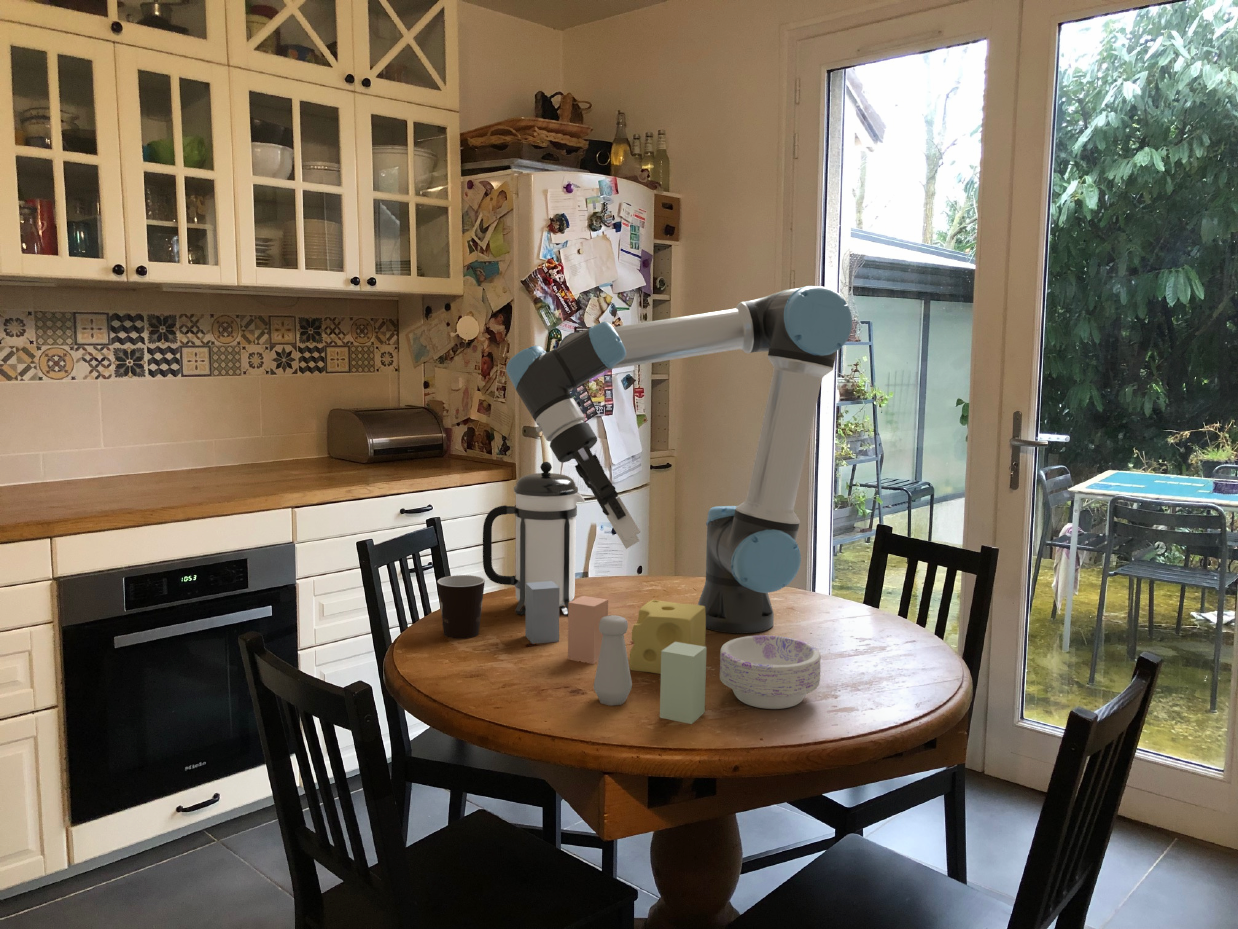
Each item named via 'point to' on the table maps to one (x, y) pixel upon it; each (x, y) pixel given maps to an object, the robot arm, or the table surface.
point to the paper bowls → (770, 670)
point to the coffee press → (539, 535)
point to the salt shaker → (613, 662)
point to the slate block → (542, 612)
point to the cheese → (664, 632)
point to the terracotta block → (585, 628)
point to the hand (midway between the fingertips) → (633, 541)
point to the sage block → (683, 682)
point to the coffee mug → (461, 605)
